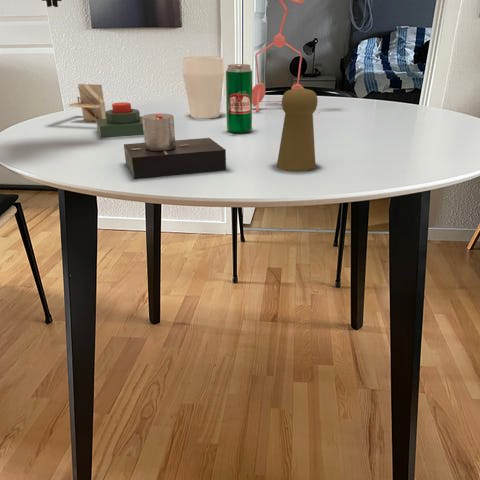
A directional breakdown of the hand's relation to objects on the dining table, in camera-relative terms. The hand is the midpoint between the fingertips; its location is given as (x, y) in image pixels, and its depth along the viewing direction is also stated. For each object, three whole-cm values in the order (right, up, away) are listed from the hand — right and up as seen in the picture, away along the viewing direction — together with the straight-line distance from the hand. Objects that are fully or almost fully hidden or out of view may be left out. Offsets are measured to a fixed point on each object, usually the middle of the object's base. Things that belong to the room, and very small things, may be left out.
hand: (52, 6), depth 79 cm
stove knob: (+17, -23, -3) cm, 29 cm away
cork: (+38, -26, -1) cm, 46 cm away
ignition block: (+6, -12, +22) cm, 25 cm away
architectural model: (-3, -6, +32) cm, 32 cm away
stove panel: (+19, -26, -1) cm, 32 cm away
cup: (+22, -3, +37) cm, 43 cm away
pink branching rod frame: (+40, +4, +46) cm, 61 cm away
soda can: (+29, -12, +22) cm, 39 cm away
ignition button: (+6, -9, +20) cm, 23 cm away
